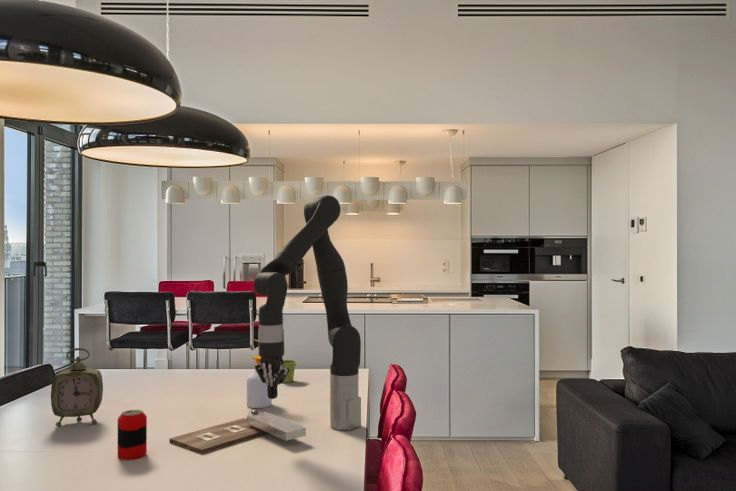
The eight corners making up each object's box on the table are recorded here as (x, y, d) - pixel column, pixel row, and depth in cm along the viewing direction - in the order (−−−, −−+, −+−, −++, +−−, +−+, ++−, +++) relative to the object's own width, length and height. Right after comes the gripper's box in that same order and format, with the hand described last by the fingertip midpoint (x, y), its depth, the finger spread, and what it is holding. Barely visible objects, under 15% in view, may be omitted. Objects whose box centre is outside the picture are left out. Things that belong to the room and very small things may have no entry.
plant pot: (272, 380, 263) (272, 360, 263) (293, 378, 267) (293, 359, 267) (278, 384, 254) (278, 364, 254) (299, 382, 258) (299, 362, 258)
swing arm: (261, 417, 197) (261, 407, 197) (305, 435, 177) (305, 424, 177) (242, 421, 192) (242, 411, 192) (285, 440, 173) (285, 429, 173)
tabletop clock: (50, 429, 191) (50, 351, 191) (57, 421, 200) (57, 346, 200) (99, 425, 195) (99, 349, 195) (103, 418, 204) (104, 345, 204)
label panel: (276, 430, 190) (276, 424, 190) (201, 453, 168) (201, 447, 168) (243, 421, 200) (243, 415, 200) (169, 442, 178) (169, 436, 178)
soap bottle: (241, 406, 218) (241, 339, 219) (257, 401, 226) (257, 336, 227) (261, 409, 214) (261, 341, 214) (276, 404, 222) (276, 338, 223)
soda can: (137, 449, 172) (137, 407, 172) (151, 455, 167) (151, 412, 167) (112, 456, 166) (112, 413, 166) (126, 462, 161) (126, 418, 161)
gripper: (296, 339, 175) (297, 398, 175) (265, 336, 183) (266, 392, 183) (277, 343, 169) (278, 404, 169) (246, 339, 177) (247, 397, 177)
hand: (272, 398), depth 176 cm, fingers closed
